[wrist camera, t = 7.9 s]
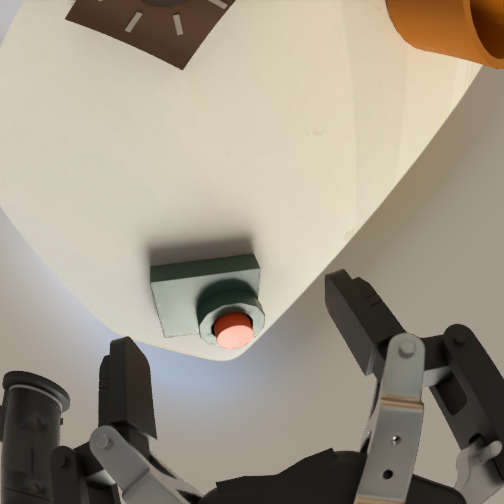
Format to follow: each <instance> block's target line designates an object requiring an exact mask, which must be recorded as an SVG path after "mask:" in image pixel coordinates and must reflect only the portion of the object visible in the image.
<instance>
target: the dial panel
mask: <svg viewBox="0 0 504 504" xmlns="http://www.w3.org/2000/svg"><path fill="white" fill-rule="evenodd" d="M234 2H235V0H187V1H185V2H183V3H180V4H177V5H174V6H168V7H157V6H152V5H148V4H146V3H144V2H142V1H141V0H76V2H75V3H74V5H73V7H72V8H71V10H70V11H69V13H68V15H67V16H66V18H65V20H68V21H71V22H74V23H77V24H80V25H82V26H85V27H88V28H90V29H93V30H96V31H98V32H101V33H103V34H106V35H108V36H111V37H113V38H115V39H118V40H120V41H122V42H125V43H127V44H129V45H132V46H134V47H136V48H138V49H140V50H142V51H145V52H147V53H149V54H151V55H153V56H155V57H157V58H159V59H161V60H163V61H165V62H167V63H169V64H171V65H173V66H175V67H177V68H179V69H181V70H183V69H184V68H185V66H186V65H187V63H188V62H189V60H190V59H191V57H192V56H193V55H194V53H195V52H196V50H197V49H198V48H199V46H200V45H201V43H202V42H203V41H204V39H205V38H206V37H207V35H208V34H209V33H210V31H211V30H212V29H213V27H214V26H215V25H216V24H217V22H218V21H219V20H220V19H221V17H222V16H223V15H224V14H225V12H226V11H227V10H228V9H229V8H230V6H231V5H232V4H233V3H234Z"/></svg>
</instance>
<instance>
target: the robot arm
mask: <svg viewBox="0 0 504 504" xmlns="http://www.w3.org/2000/svg"><path fill="white" fill-rule="evenodd" d="M325 303H326V307H327V310H328V312H329V314H330V316H331V318H332V319H333V321H334V323H335V324H336V326H337V328H338V330H339V331H340V333H341V335H342V336H343V338H344V340H345V341H346V343H347V345H348V347H349V348H350V350H351V352H352V354H353V355H354V357H355V359H356V361H357V362H358V364H359V366H360V368H361V369H362V371H363V373H364V374H365V376H367V375H370V374H372V373H374V375H375V377H376V378H377V381H376V386H375V390H374V395H373V400H372V405H371V409H370V414H369V418H368V421H367V425H366V428H365V431H364V434H363V437H362V441H361V444H360V448H359V452H355V451H336V452H334V451H333V449H332V448H330V449H328V450H325V451H322V452H320V453H317V454H314V455H312V456H309V457H306V458H304V459H302V460H300V461H299V462H297V463H296V464H294V465H293V466H291V467H289V468H288V469H286V470H284V471H283V472H281V473H279V474H277V475H268V476H243V477H239V478H235V479H230V480H226V481H221V482H216V486H217V488H214V489H213V490H211V491H210V492H208V493H207V494H206V495H203V494H202V493H201V492H200V491H198V490H197V489H196V488H194V487H193V486H191V485H190V484H188V483H187V482H185V481H184V480H182V479H181V478H180V477H179V476H177V475H176V474H175V473H174V472H173V471H172V470H171V469H170V468H168V467H167V466H166V465H165V464H164V463H163V462H162V461H161V460H160V459H159V458H158V457H157V456H156V455H155V454H153V452H152V451H150V450H149V442H150V441H157V435H156V427H155V418H154V409H153V399H152V388H151V375H150V367H149V363H148V361H147V358H146V357H145V355H144V354H143V353H142V352H141V350H140V349H139V348H138V347H137V345H136V344H135V343H134V342H133V340H132V339H131V338H130V337H129V336H127V337H124V338H120V339H116V340H112V341H111V343H110V355H107V356H104V358H103V361H102V363H101V366H100V372H99V380H100V381H99V423H98V428H97V429H95V431H94V432H93V433H92V434H91V437H90V441H88V442H87V443H85V444H83V445H81V446H79V447H77V448H74V449H71V448H69V447H67V446H60V425H62V424H63V418H61V411H62V402H61V400H60V399H59V398H58V397H57V396H56V395H54V394H53V393H51V392H50V391H48V390H46V389H44V388H42V387H39V386H36V385H33V384H29V383H24V382H15V383H12V384H11V385H10V386H9V387H7V386H5V392H4V397H3V403H2V406H0V442H2V455H1V504H121V502H120V497H119V493H118V487H117V485H118V486H119V487H120V488H121V490H122V491H123V493H122V498H123V499H124V501H125V502H126V503H127V504H482V503H483V502H485V501H486V500H487V499H489V498H490V497H491V496H492V495H494V494H495V493H496V492H497V491H498V490H500V489H501V488H502V487H503V486H504V379H503V377H502V376H501V374H500V372H499V371H498V369H497V368H496V366H495V364H494V363H493V361H492V360H491V358H490V357H489V355H488V354H487V352H486V351H485V349H484V348H483V346H482V345H481V343H480V342H479V341H478V339H477V338H476V336H475V335H474V333H473V332H472V331H471V330H470V329H469V328H468V327H466V326H464V325H461V324H454V325H451V326H449V327H448V328H447V329H446V330H445V332H444V334H443V335H438V336H433V337H427V338H419V337H417V336H416V335H414V334H411V333H407V332H406V331H405V330H404V329H403V327H402V326H401V325H400V323H399V322H398V321H397V319H396V318H395V316H394V315H393V314H392V312H391V311H390V310H389V308H388V307H387V306H386V304H385V303H384V302H383V301H382V299H381V298H380V296H379V295H377V293H376V291H375V290H374V289H373V287H372V286H371V285H370V284H369V283H368V282H366V281H365V280H363V279H361V278H360V277H357V278H355V279H351V277H350V276H349V275H348V273H347V272H346V271H345V270H344V269H341V270H338V271H335V272H332V273H330V274H327V275H325ZM423 387H429V388H430V390H431V392H432V394H433V396H434V398H435V399H436V401H437V403H438V405H439V407H440V409H441V411H442V413H443V415H444V417H445V419H446V421H447V423H448V425H449V427H450V429H451V431H452V432H453V435H454V437H455V439H456V441H457V443H458V445H459V447H460V449H461V452H460V453H459V455H458V457H457V460H456V468H457V473H458V478H457V482H456V484H455V486H454V488H452V487H449V486H446V485H443V484H440V483H437V482H434V481H431V480H428V479H426V478H423V477H420V476H417V475H415V474H413V469H414V465H415V461H416V456H417V451H418V446H419V440H420V435H421V428H422V422H423V414H424V404H423V403H422V401H421V395H422V388H423Z"/></svg>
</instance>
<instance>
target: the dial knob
mask: <svg viewBox="0 0 504 504" xmlns="http://www.w3.org/2000/svg"><path fill="white" fill-rule="evenodd" d="M141 1H142V2H144V3H146V4H148V5H152V6H157V7H168V6H174V5H177V4H180V3H183V2H185V1H187V0H141Z"/></svg>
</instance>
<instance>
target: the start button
mask: <svg viewBox="0 0 504 504" xmlns="http://www.w3.org/2000/svg"><path fill="white" fill-rule="evenodd" d="M214 331H215V336H216V340H217V343H218V344H219V345H220V346H221V347H223V348H227V349H234V348H239V347H242V346H244V345H246V344H247V343H249V342H250V341H251V340H252V338H253V336H254V332H253V328H252V326H251V323H250V320H249V317H248V316H247V315H246V314H244V313H241V312H234V313H228V314H225V315H223V316H221V317H219V318H218V319H217V320H216V321H215V323H214Z"/></svg>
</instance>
